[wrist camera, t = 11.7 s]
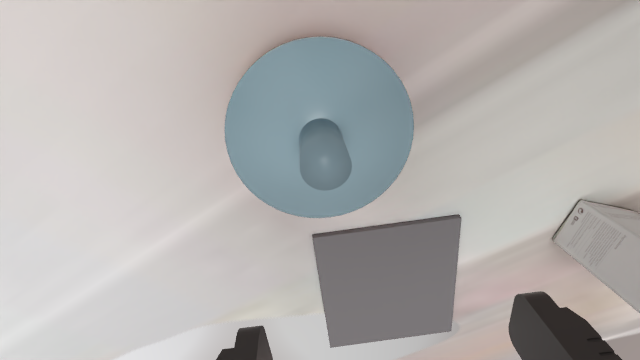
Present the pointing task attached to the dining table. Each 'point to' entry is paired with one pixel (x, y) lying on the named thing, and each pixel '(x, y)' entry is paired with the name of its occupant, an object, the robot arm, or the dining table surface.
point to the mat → (388, 279)
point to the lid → (319, 127)
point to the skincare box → (605, 246)
